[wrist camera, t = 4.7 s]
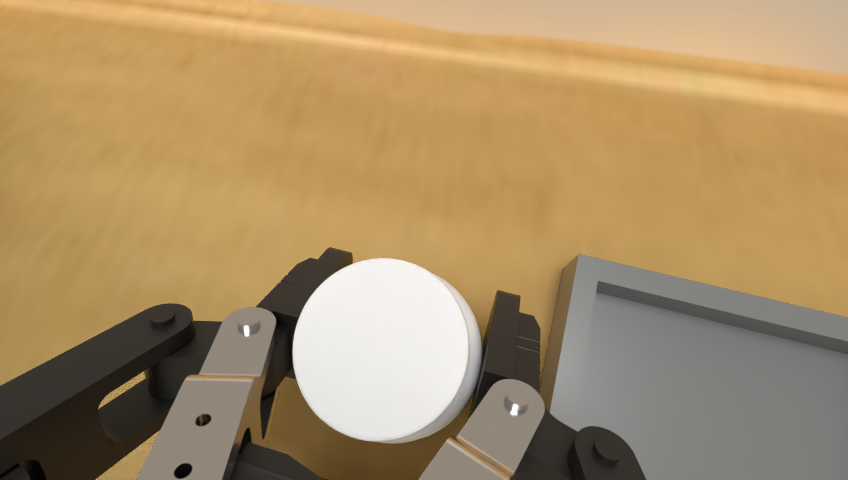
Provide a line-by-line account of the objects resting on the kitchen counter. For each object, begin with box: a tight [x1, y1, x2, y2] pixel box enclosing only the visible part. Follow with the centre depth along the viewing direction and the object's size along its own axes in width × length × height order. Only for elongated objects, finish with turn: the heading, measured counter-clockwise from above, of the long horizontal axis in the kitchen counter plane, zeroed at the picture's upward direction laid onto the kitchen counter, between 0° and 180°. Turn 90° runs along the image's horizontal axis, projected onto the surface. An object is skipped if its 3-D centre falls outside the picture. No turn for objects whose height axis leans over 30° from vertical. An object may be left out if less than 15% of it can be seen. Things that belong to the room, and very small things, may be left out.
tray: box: [539, 254, 848, 480], centre depth 15 cm, size 12×12×2 cm
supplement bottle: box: [293, 258, 483, 444], centre depth 14 cm, size 5×5×8 cm
